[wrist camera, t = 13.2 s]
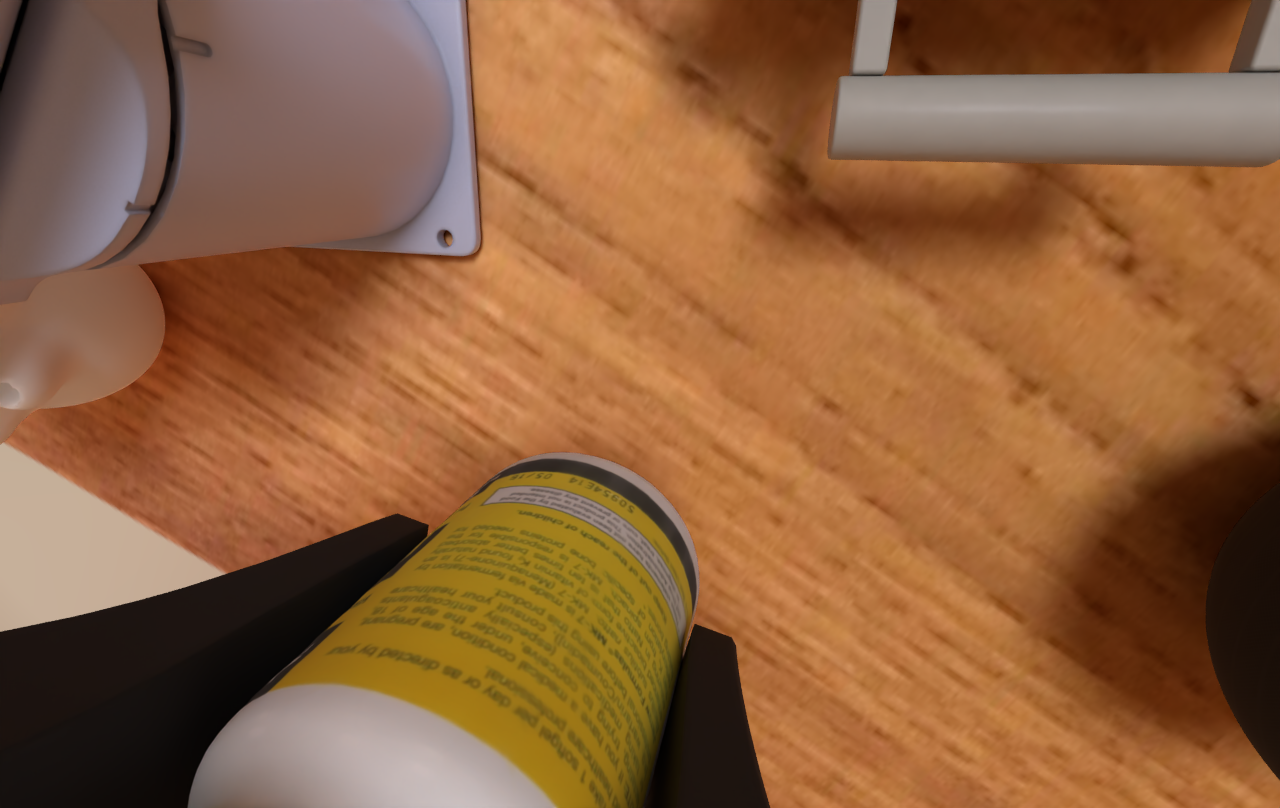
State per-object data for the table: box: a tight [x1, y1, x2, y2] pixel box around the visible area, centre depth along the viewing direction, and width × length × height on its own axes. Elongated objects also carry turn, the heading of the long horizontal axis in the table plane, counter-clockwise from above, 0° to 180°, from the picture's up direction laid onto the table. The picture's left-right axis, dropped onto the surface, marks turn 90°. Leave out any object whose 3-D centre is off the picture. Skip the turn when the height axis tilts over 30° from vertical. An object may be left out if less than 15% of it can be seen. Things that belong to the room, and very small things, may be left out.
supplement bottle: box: [188, 452, 699, 808], centre depth 8 cm, size 5×5×8 cm
